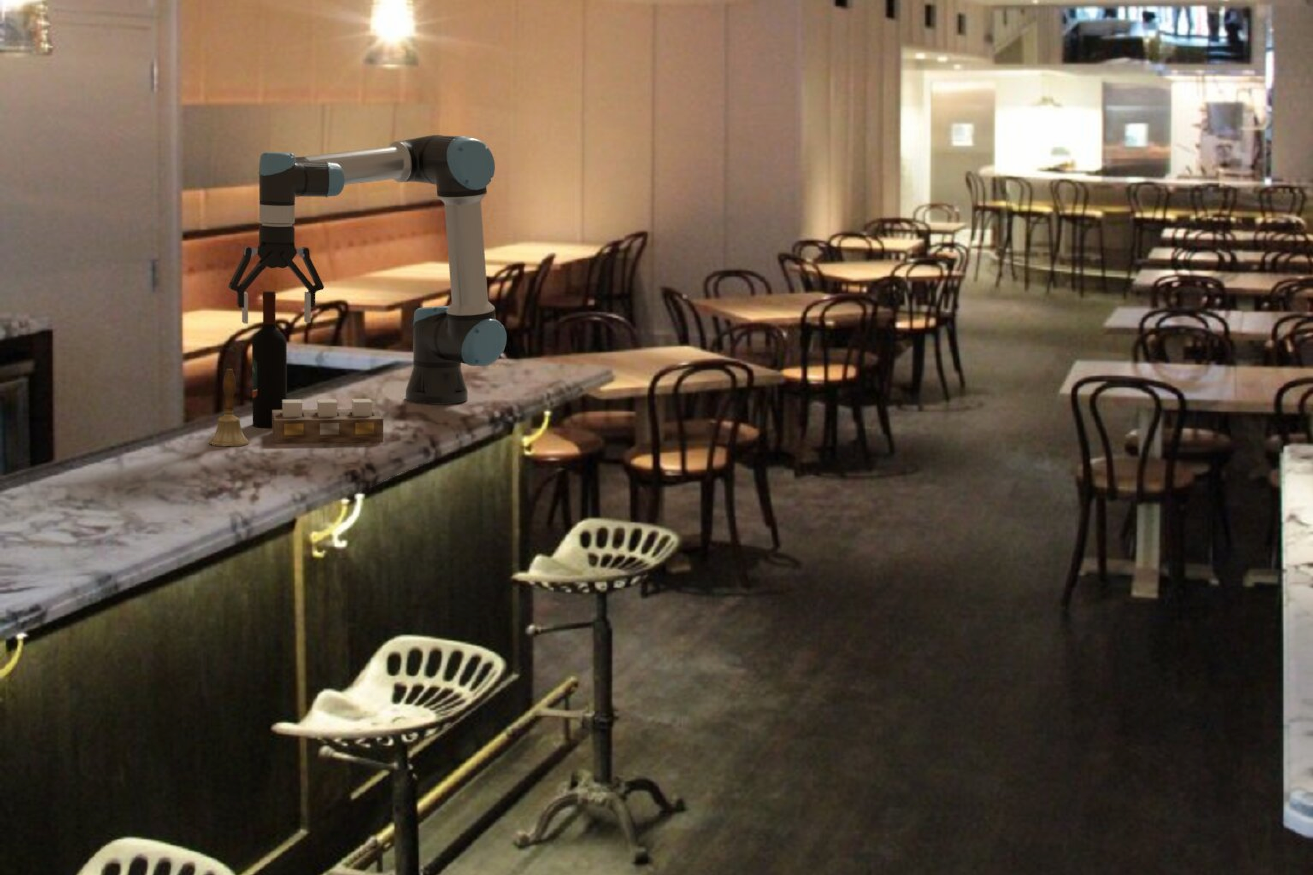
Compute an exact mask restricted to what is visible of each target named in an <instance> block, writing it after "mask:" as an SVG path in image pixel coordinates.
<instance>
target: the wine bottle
mask: <svg viewBox="0 0 1313 875" xmlns="http://www.w3.org/2000/svg"><path fill="white" fill-rule="evenodd" d="M276 299H277V297H276V291H275V290H274V291H272V290H265V291H262V326H261V328H260V330H258V331H257V332H256V333H255V334H254V335H253V337H252V339H251V340H252V341H251V348H252V349H251V352H252V354H251V357H252V359H251V360H252V361H251V362H252V363H251V367H252V372H251V373H252V374H251V375H252V376H251V377H252V378H251V381H252V384H251V385H252V386H251V387H252V390H251V391H252V426H253V427H255V428H259V429H260V428H261V429H272V410H282V400H288V397H287V394H288V392H287V391H288V386H287V384H288V379H287V378H288V373H287V372H288V371H287V364H288V362H287V361H288V360H287V359H288V358H287V357H288V355H287V353H288V352H287V351H288V348H287V346H288V343H287V338H286V336H285V334H283V333H282V332H281V331H280V330H279V329H278V328H277V326H276V325H277V324H276V322H277V321H276V320H277V319H276Z"/></svg>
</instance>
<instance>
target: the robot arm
mask: <svg viewBox="0 0 1313 875" xmlns="http://www.w3.org/2000/svg"><path fill="white" fill-rule="evenodd" d="M495 170H496V164H495V158H494V155H493V153H492V151H491V149H490V148H489V147H488V146H487V145H486V143H484V142H483V141H481V140H480V139H477V138H472V137H470V136H464V135H463V136H461V135H459V136H458V135H443V134H433V135H426V136H419V137H415V138H409V139H404V140H399V141H398V140H397V141H393V142H391V143H390V144H389V146H384V147H376V148H375V147H374V148H366V149H365V148H364V149H357V150H351V151H349V150H347V151H339V152H332V153H331V152H330V153H323V154H322V153H321V154H314V155H313V154H311V155H303V156H297V157H296V155H295V154H294V153H292V152H284V151H283V152H280V151H279V152H278V151H277V152H276V151H264V152H262V153H261V155H260V157H259V165H258V190H259V191H258V192H259V195H258V196H259V197H258V198H259V202H258V203H259V204H258V205H259V208H258V209H259V210H258V211H259V212H258V217H259V220H258V221H259V223H261V225H259V226H258V247H256V248H255V247H250V246H247V245H246V246H244V247H243V253H242V258H241V260H240V262H239V264H238V266H237V268H236V270H235V271H234V274H233V275H232V278H231V279H230V282H229V284H228V288H229V289H230V290H232V291H235V292H236V296H237V297H236V299H237V300H236V303H237V304H236V305H237V308H240V309H241V323H243V324H249V293H248V292H246V290H247V289H248V288H249V287H250V286H251V285H252V283H253V282H254V281H255V280H256V279H257V277H259V275H260V274H261V273H262V272H263V271H264V270H265V269H266V268H270V269H276V268H280V269H285V268H289V269H290V271H292V272H293V274H294V275H295V277H297V279H298V280H299V281H300V282H301V284H302V285H303V286H304V287H305V288H306V289H307V290H308V291H304V300H303V301H304V308H303V310H304V311H303V312H304V315H303V318H304V320H303V321H304V323H306V324H311V320H312V318H311V316H312V315H311V313H312V311H311V309H312V308H315V306H316V293H317V292H319V291H322V290H323V291H324V288H325V285H324V284H323V281H322V279H321V277H320V275H319V273H318V271H317V268H316V267H315V265H314V263H313V260H312V258H311V254H310V253H311V251H310V249H309V247H306V246H302V247H300V248H296V246H295V244H296V243H295V242H296V240H295V238H296V237H295V234H296V232H295V229H296V228H295V226H293V225H294V224H295V221H296V220H295V219H296V217H295V216H296V214H295V210H296V209H295V207H296V206H295V205H296V203H295V201H296V198H299V197H308V198H311V197H315V198H316V197H318V198H319V197H320V198H322V197H324V198H329V197H336V196H338V195H340V194H341V193H342V191H343V190H344V187H345V186H349V185H356V184H357V185H358V184H362V183H372V182H380V181H389V180H394V181H395V182H397V183H405V182H406V183H408V182H410V183H412V182H413V183H422V184H431V185H436V195H437V198H438V199H439V200H440V201H442V202H443V204H444V214H445V215H444V216H445V229H446V242H447V243H446V245H447V254H448V268H449V279H450V280H449V282H450V284H449V285H450V295H451V304H450V305H440V306H426V307H425V306H424V307H418V308H417V309H416V310H414V313H413V321H412V327H413V328H412V330H413V338H412V339H413V344H412V345H413V346H412V348H413V349H412V350H413V354H412V355H413V356H412V357H413V358H412V359H413V362H412V365H413V366H412V369H411V374H410V377H409V380H408V382H407V386H406V389H405V400H407V401H408V402H412V403H417V404H427V405H428V404H429V405H451V404H460V403H463V402H467V401H468V398H469V397H468V393H469V392H468V388H467V385H466V382H465V378H464V375H463V372H462V364H464V365H468V366H470V367H476V366H477V367H488V366H490V365H492V364H494V363H495V362H496V361H498V360H499V358H500V356H501V355H503V353H504V350H505V347H506V346H507V331H506V329H505V326H504V325H503V324H502V323H501V322H500V321H499V320H498V319H496V317H497V316H496V308H495V306H494V304H492V303H491V302H490V301H489V298H488V297H489V296H488V294H489V293H488V283H487V282H488V280H487V270H486V266H487V265H486V255H485V254H486V253H485V240H484V225H483V215H482V214H483V212H482V211H483V210H482V200H483V199H484V197H486V195H487V194H488V191H487V190H488V189H487V187H488V185H489V184H491V182H492V178H494V175H495V173H496V172H495ZM256 254H257V255H258V257H259V258H260V260H259V261H258V262H257V263H256V265H255V266H254V267H253V269H251V271H250V272H249V273H248V274H247V275H246V277H245V278H244V279H243V280H242V281H241V279H242V278H243V275H244V274H245V272H246V270H247V268H248V266H249V264H250V262H251V259H252V258H255V255H256ZM297 255H298V256H299V257H300V258H302V261H303V263H304V265H305V267H306V269H307V271H308V273H309V275H310V277H311V279H312V282H313V283H314V284H313V283H311V281H310V280H309V279H308V278H307V276H306V275H305V274H304V273H303V272H302V271H301V269H300V268H299V267H298V265H297V264H296V263H295V261H294V259H295V258H296V256H297ZM240 281H241V282H240ZM239 283H240V284H239Z"/></svg>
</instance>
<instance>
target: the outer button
mask: <svg viewBox="0 0 1313 875" xmlns="http://www.w3.org/2000/svg"><path fill="white" fill-rule="evenodd" d="M302 410H303V401H302V399H287V400H282V417H302Z"/></svg>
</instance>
